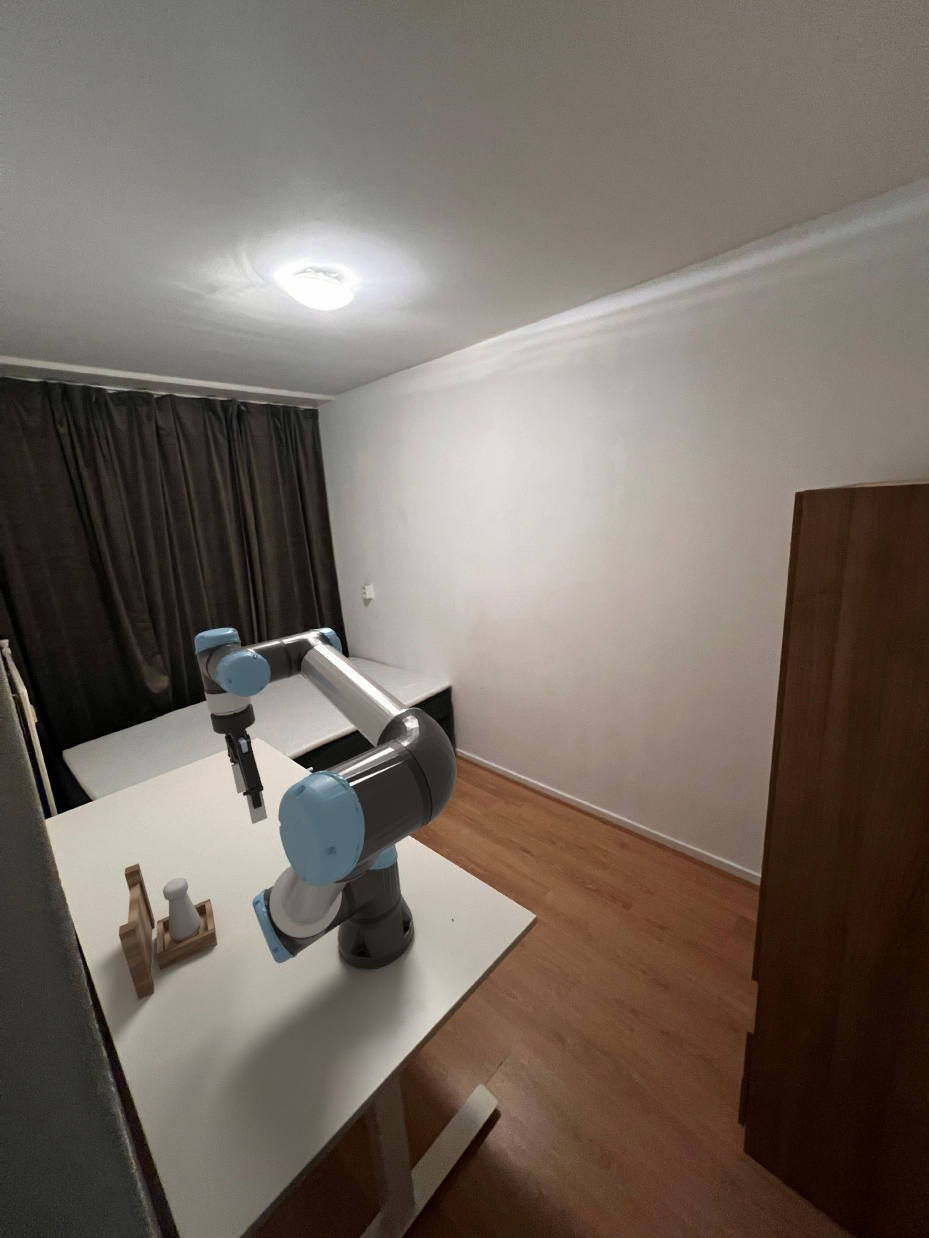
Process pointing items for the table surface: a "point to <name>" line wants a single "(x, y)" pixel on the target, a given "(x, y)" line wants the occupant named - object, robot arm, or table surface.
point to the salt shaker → (181, 911)
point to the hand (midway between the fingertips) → (251, 804)
